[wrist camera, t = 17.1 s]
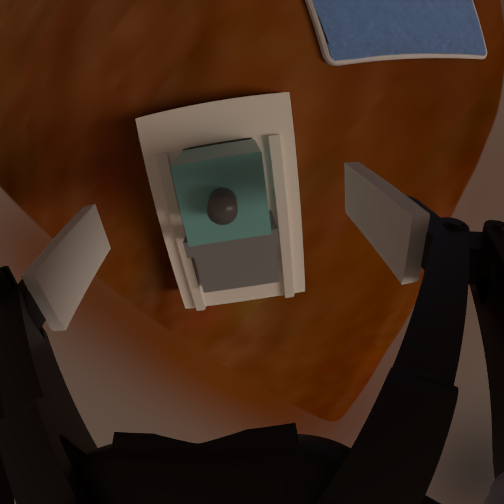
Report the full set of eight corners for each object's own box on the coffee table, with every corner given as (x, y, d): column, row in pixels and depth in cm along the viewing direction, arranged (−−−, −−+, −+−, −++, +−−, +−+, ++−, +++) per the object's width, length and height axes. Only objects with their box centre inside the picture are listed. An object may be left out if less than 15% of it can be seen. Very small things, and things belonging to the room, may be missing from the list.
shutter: (188, 222, 23) (183, 243, 20) (271, 209, 23) (277, 228, 20) (204, 286, 26) (202, 311, 23) (278, 275, 26) (284, 299, 23)
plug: (188, 143, 23) (165, 173, 15) (251, 133, 23) (264, 156, 15) (199, 201, 25) (186, 259, 17) (258, 192, 25) (274, 246, 17)
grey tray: (145, 115, 22) (133, 119, 19) (282, 92, 22) (290, 92, 19) (188, 289, 30) (185, 312, 27) (298, 273, 30) (306, 294, 27)
